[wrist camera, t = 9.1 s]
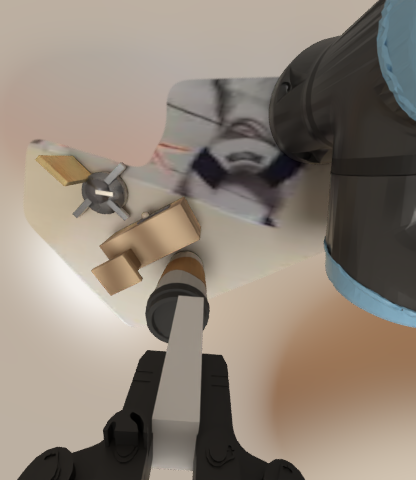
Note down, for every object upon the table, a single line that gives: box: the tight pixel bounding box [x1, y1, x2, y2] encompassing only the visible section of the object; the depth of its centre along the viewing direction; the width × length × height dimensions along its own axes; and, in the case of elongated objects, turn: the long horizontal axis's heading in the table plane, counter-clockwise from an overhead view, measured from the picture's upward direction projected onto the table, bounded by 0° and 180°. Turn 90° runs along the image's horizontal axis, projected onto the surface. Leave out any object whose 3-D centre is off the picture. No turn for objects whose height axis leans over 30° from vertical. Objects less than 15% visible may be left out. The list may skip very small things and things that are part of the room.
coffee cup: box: [145, 251, 210, 343], centre depth 34 cm, size 8×8×15 cm
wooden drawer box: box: [91, 197, 201, 296], centre depth 33 cm, size 14×7×11 cm, turn 117°
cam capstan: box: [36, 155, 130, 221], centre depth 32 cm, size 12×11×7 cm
